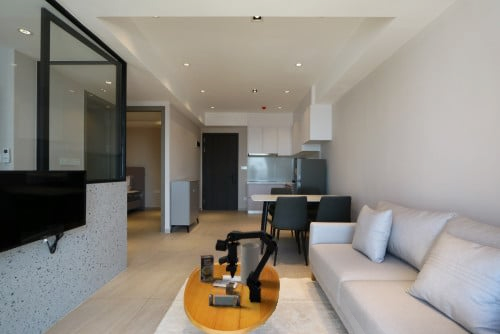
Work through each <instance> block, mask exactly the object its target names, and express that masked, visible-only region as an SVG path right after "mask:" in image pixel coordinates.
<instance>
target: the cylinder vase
mask: <svg viewBox="0 0 500 334" xmlns="http://www.w3.org/2000/svg"><path fill="white" fill-rule="evenodd" d="M259 262H260V245H259V244H258V243H256V242H244V243H242V244H241V245H240V283H241V284H242V285H244V286H247V284H246V281H247V280H246V279H247V278H248V276H249V274H250V273H251V271H253V272H254V271H255V269H256V268H257V266H258V264H259Z"/></svg>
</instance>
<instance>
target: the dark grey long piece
mask: <svg viewBox="0 0 500 334" xmlns="http://www.w3.org/2000/svg"><path fill="white" fill-rule="evenodd" d="M241 296H242V295H241V294H236V299H233V305H220V304H214V294H210V293H209V295H208V306H209V307H232V308H233V309H234V308H235V309H236V308H238V307H241V304H242V303H241V302H242V301H241V298H242V297H241Z"/></svg>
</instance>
